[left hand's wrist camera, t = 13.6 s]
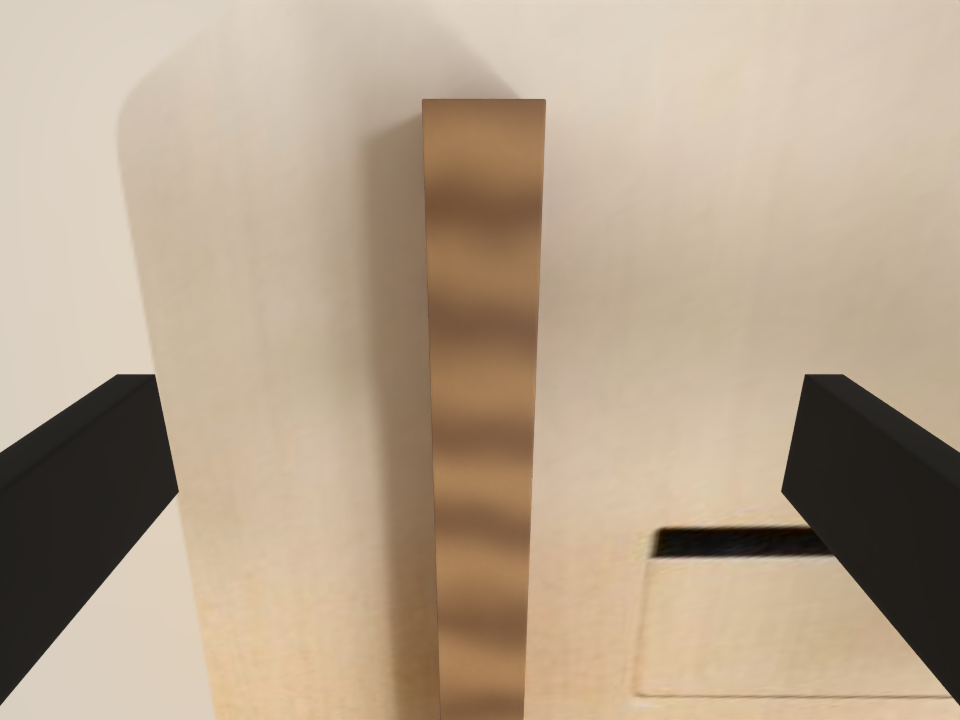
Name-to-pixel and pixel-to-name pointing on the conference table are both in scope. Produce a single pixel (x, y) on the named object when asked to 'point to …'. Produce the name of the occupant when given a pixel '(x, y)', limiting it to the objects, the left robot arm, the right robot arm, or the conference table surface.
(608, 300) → the conference table surface
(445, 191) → the beam
